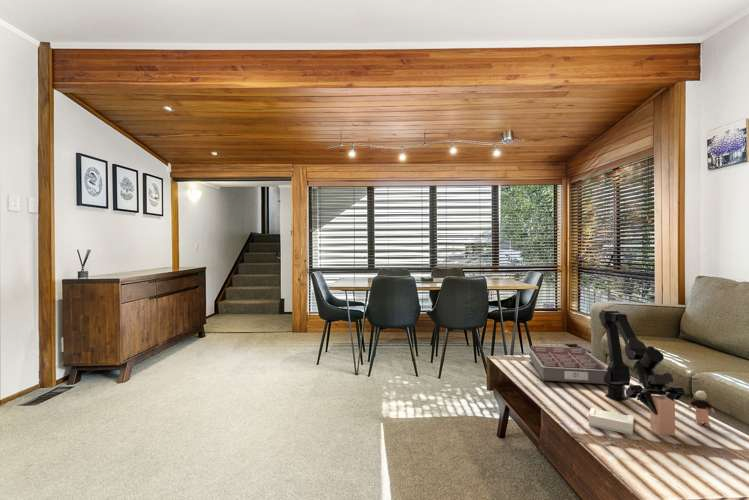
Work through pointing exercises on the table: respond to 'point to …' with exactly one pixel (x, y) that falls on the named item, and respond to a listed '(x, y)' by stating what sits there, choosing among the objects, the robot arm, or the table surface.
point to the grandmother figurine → (701, 408)
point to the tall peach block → (663, 415)
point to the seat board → (611, 421)
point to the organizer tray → (567, 364)
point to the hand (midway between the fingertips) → (664, 414)
